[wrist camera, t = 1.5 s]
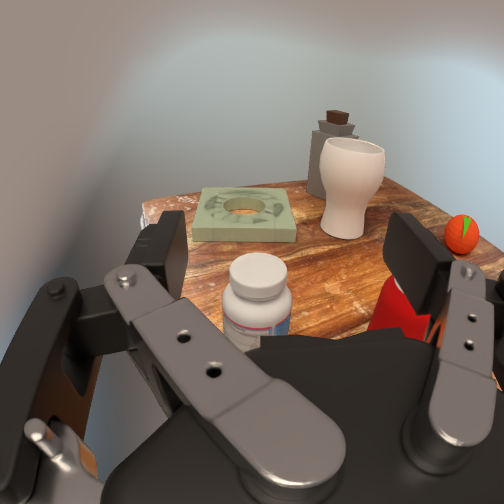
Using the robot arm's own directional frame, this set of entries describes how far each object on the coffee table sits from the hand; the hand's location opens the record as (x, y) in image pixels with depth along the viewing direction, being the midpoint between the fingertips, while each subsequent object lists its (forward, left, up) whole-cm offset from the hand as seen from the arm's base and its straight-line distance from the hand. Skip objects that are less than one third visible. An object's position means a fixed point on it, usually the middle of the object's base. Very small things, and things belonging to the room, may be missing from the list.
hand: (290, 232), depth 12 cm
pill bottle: (0, +10, -21) cm, 23 cm away
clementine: (+37, +30, -21) cm, 52 cm away
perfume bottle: (+17, +52, -21) cm, 59 cm away
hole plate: (-1, +40, -21) cm, 45 cm away
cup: (+16, +37, -21) cm, 45 cm away
